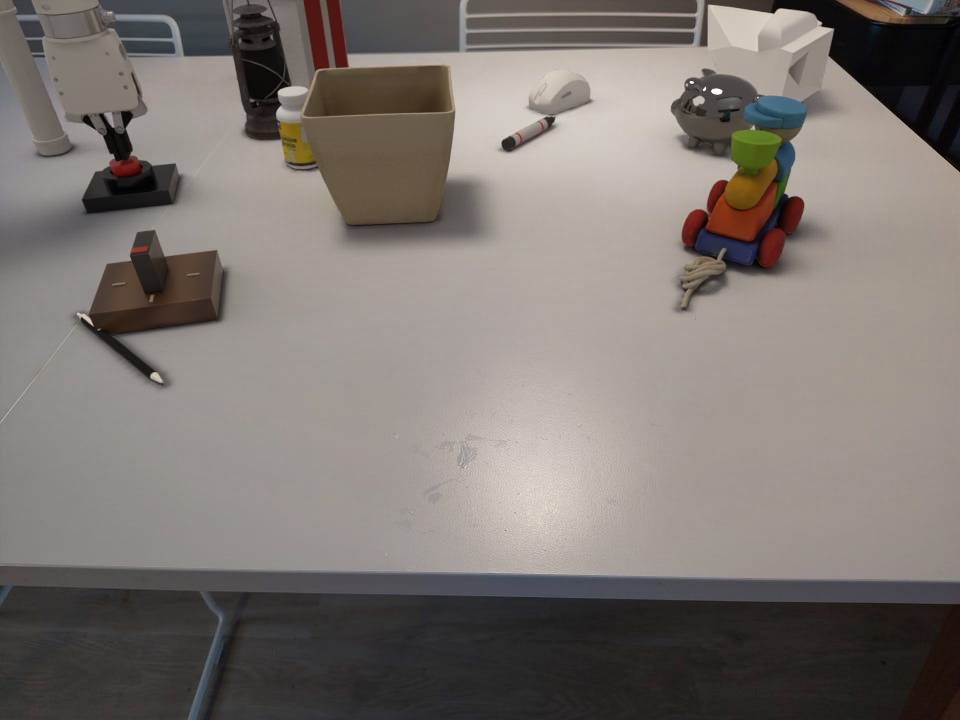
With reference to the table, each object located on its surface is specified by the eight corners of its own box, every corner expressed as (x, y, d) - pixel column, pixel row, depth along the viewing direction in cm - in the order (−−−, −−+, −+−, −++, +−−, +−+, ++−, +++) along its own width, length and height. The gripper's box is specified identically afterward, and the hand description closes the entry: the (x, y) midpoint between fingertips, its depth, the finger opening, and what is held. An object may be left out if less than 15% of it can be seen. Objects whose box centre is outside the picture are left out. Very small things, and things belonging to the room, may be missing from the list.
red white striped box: (352, 78, 147) (333, -69, 129) (319, 106, 133) (293, -53, 116) (281, 74, 150) (254, -70, 132) (242, 101, 136) (206, -55, 119)
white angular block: (817, 19, 112) (855, 9, 122) (687, -1, 125) (732, -8, 135) (786, 124, 122) (823, 107, 132) (669, 95, 135) (712, 81, 145)
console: (98, 336, 77) (87, 313, 75) (115, 284, 85) (106, 262, 83) (217, 319, 79) (210, 296, 77) (223, 270, 87) (216, 248, 85)
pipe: (33, 150, 119) (-55, -48, 100) (71, 140, 122) (-8, -54, 103) (43, 159, 116) (-46, -44, 96) (82, 149, 119) (2, -50, 100)
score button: (110, 178, 101) (106, 167, 100) (115, 167, 104) (111, 156, 103) (139, 175, 101) (135, 164, 100) (143, 164, 104) (139, 153, 103)
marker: (510, 151, 115) (510, 140, 114) (501, 149, 116) (501, 137, 115) (559, 124, 124) (560, 113, 123) (550, 122, 125) (551, 111, 124)
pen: (83, 315, 80) (79, 307, 80) (168, 384, 70) (165, 375, 70) (75, 318, 80) (72, 310, 79) (160, 388, 70) (156, 380, 69)
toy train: (638, 296, 81) (659, 162, 71) (715, 201, 100) (741, 84, 89) (741, 328, 76) (781, 188, 65) (802, 221, 95) (841, 99, 84)
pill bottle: (283, 158, 114) (268, 87, 107) (321, 152, 116) (309, 81, 109) (289, 173, 110) (274, 100, 102) (329, 166, 111) (317, 94, 104)
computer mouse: (524, 108, 131) (525, 74, 127) (570, 92, 137) (572, 59, 133) (548, 117, 127) (550, 82, 123) (594, 100, 134) (597, 67, 130)
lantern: (273, 113, 131) (235, -70, 112) (319, 121, 127) (287, -67, 108) (229, 136, 122) (179, -58, 103) (276, 145, 119) (233, -54, 100)
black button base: (87, 213, 100) (76, 187, 98) (100, 184, 108) (90, 160, 105) (172, 203, 102) (164, 178, 99) (179, 176, 110) (172, 152, 107)
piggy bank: (680, 126, 123) (692, 59, 115) (764, 144, 116) (782, 73, 108) (653, 146, 116) (664, 76, 108) (741, 167, 109) (758, 93, 101)
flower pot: (460, 233, 94) (455, 110, 83) (320, 239, 93) (298, 116, 82) (454, 174, 108) (450, 63, 98) (334, 179, 107) (316, 68, 97)
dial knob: (151, 268, 82) (136, 229, 79) (168, 266, 82) (154, 227, 79) (144, 293, 78) (128, 253, 74) (162, 291, 78) (147, 251, 75)
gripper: (138, 12, 93) (179, 142, 105) (20, 21, 91) (75, 153, 103) (129, 25, 88) (173, 161, 100) (3, 35, 85) (64, 173, 97)
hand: (123, 157), depth 101 cm, fingers closed
